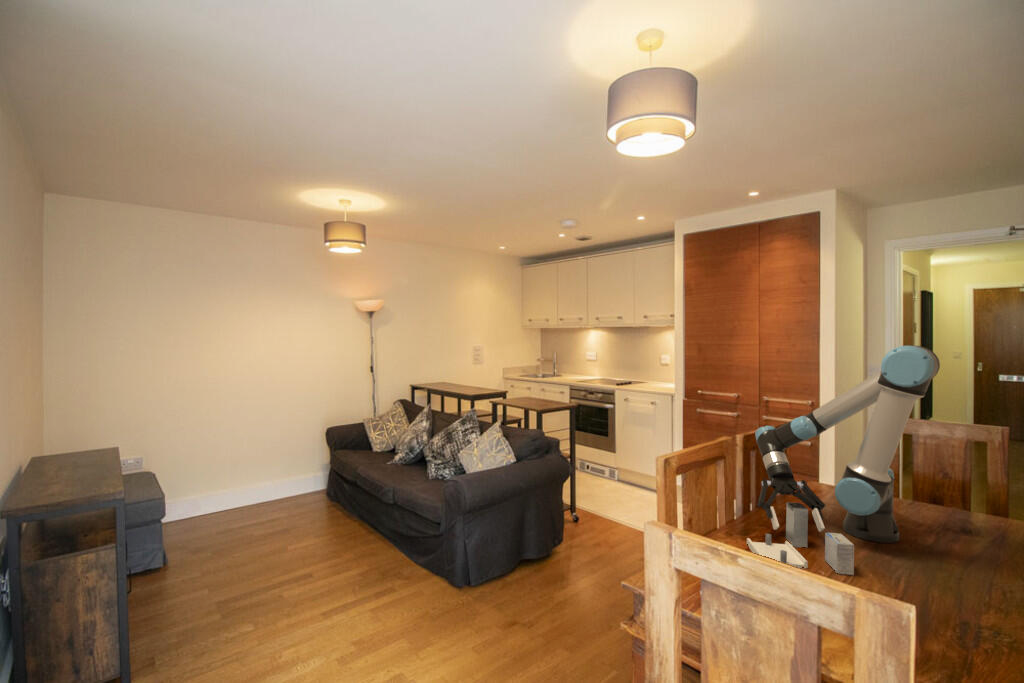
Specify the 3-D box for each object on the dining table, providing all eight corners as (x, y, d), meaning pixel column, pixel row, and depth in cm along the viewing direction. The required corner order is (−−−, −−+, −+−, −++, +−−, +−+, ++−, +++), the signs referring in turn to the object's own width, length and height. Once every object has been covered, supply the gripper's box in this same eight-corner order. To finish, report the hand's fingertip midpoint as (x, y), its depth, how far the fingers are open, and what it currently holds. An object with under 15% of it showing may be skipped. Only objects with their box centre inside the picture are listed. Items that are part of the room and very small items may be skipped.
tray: (787, 547, 152) (788, 534, 152) (807, 568, 139) (807, 554, 139) (746, 544, 154) (746, 531, 154) (762, 565, 140) (762, 551, 140)
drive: (799, 540, 158) (800, 502, 158) (807, 548, 152) (808, 509, 152) (785, 539, 159) (786, 501, 159) (793, 546, 153) (794, 508, 153)
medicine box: (854, 576, 135) (855, 544, 135) (836, 574, 136) (836, 543, 136) (841, 563, 143) (841, 533, 142) (824, 561, 143) (824, 531, 143)
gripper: (811, 475, 170) (835, 535, 155) (737, 472, 172) (754, 532, 157) (820, 463, 165) (846, 525, 150) (743, 461, 167) (761, 522, 152)
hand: (799, 529), depth 154 cm, fingers open, 13 cm apart
